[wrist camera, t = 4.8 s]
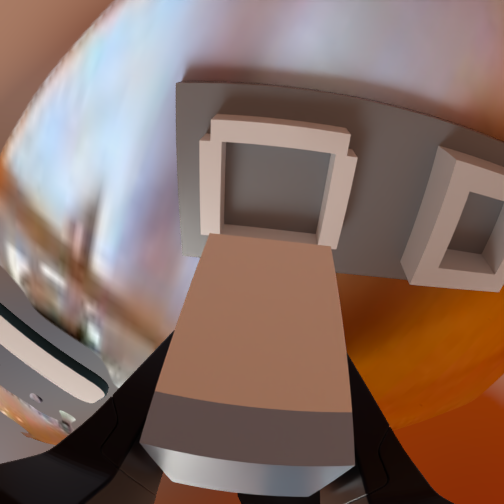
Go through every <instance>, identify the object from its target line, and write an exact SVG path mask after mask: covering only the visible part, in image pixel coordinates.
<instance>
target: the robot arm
mask: <svg viewBox="0 0 504 504" xmlns="http://www.w3.org/2000/svg"><path fill="white" fill-rule="evenodd" d="M174 331H175V330H174ZM174 331H173V332H172V333H171V334H170V335H169V336H168V337H167V338H166V339H165V340H164V341H163V342H162V344H161V345H160V346H159V347H158V348H157V349H156V350H155V351H154V352H153V353H152V354H151V355H150V356H149V357H148V358H147V359H146V360H145V361H144V362H143V364H142V365H141V366H140V367H139V368H138V369H137V370H136V371H135V372H134V373H133V374H132V375H131V376H130V377H129V378H128V379H127V380H126V381H125V382H124V384H123V385H122V386H121V387H120V388H119V389H118V390H117V391H116V392H115V393H114V394H113V397H110V398H109V399H108V400H107V401H106V402H105V404H104V405H103V406H101V408H99V409H98V411H96V412H95V413H94V414H93V415H92V416H91V417H90V418H89V419H88V420H87V421H85V422H84V423H83V424H82V425H81V426H79V427H78V428H77V429H76V430H75V431H73V432H72V433H71V434H70V435H68V436H67V437H66V438H65V439H63V440H62V441H61V442H60V443H58V444H57V445H56V446H55V447H53V448H52V449H50V450H48V451H46V452H44V453H41V454H38V455H34V456H31V457H27V458H23V459H19V460H15V461H11V462H6V463H2V464H0V504H154V501H155V498H156V494H157V491H158V487H159V484H160V480H161V477H162V474H163V470H162V469H161V468H160V467H159V466H158V465H157V463H156V462H155V461H154V460H153V459H152V458H151V456H150V455H149V454H148V453H147V451H146V450H145V449H144V448H143V446H142V445H141V444H140V443H139V442H140V439H141V435H142V432H143V428H144V425H145V422H146V418H147V415H148V412H149V408H150V405H151V402H152V399H153V395H154V392H155V389H156V386H157V383H158V379H159V376H160V373H161V370H162V367H163V364H164V361H165V358H166V355H167V352H168V349H169V346H170V343H171V340H172V337H173V334H174ZM346 353H347V352H346ZM347 362H348V371H349V382H350V392H351V404H352V418H353V433H354V452H355V466H354V467H352V468H351V469H350V470H348V471H347V472H345V473H344V474H342V475H341V476H340V477H338V478H337V479H335V480H334V481H332V482H331V483H329V484H328V485H326V486H325V487H323V488H322V489H320V490H318V491H317V492H315V493H314V494H312V495H310V496H309V497H293V496H270V495H256V494H245V493H238V497H239V500H240V501H241V504H454V503H452V502H450V501H448V500H447V499H445V498H443V497H442V496H440V495H439V494H438V493H436V491H434V489H433V488H432V487H431V486H430V485H429V483H428V482H427V481H426V479H425V478H424V477H423V475H422V474H421V472H420V471H419V470H418V468H417V467H416V466H415V464H414V463H413V462H412V461H411V459H410V457H409V456H408V455H407V453H406V452H405V450H404V449H403V447H402V446H401V444H400V443H399V441H398V439H397V437H396V436H395V434H394V432H393V430H392V429H391V427H389V424H388V422H387V420H386V418H385V417H384V415H383V413H382V411H381V410H380V408H379V406H378V405H377V403H376V401H375V399H374V398H373V396H372V394H371V393H370V391H369V389H368V387H367V386H366V384H365V382H364V381H363V379H362V377H361V376H360V374H359V372H358V371H357V369H356V367H355V366H354V364H353V362H352V361H351V359H350V357H349V356H348V354H347Z"/></svg>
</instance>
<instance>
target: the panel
mask: <svg viewBox="0 0 504 504" xmlns="http://www.w3.org/2000/svg"><path fill="white" fill-rule="evenodd" d="M176 147H177V176H178V196H179V213H180V228H181V242H182V254H183V256H190V257H199V258H200V257H201V255H202V252H203V249H204V247H205V244H206V241H207V239H208V236H209V234H210V233H214V234H224V235H233V236H243V237H252V238H261V239H270V240H279V241H288V242H297V243H306V244H315V245H324V246H331V250H332V256H333V262H334V267H335V273H345V274H354V275H364V276H374V277H384V278H394V279H404V280H408V282H409V284H410V285H419V286H430V287H442V288H453V289H465V290H477V291H490V292H499V291H500V289H501V288H502V286H503V284H504V142H503V141H500V140H498V139H496V138H493V137H491V136H488V135H486V134H483V133H481V132H478V131H475V130H473V129H470V128H467V127H464V126H461V125H459V124H456V123H453V122H450V121H447V120H444V119H441V118H437V117H434V116H431V115H428V114H424V113H421V112H417V111H414V110H410V109H406V108H402V107H398V106H394V105H390V104H386V103H382V102H378V101H373V100H368V99H364V98H359V97H354V96H348V95H343V94H337V93H331V92H325V91H319V90H312V89H304V88H297V87H288V86H279V85H268V84H255V83H239V82H212V81H181V82H178V83H176Z"/></svg>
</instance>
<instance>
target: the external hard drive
mask: <svg viewBox="0 0 504 504" xmlns="http://www.w3.org/2000/svg"><path fill="white" fill-rule="evenodd" d="M0 344H1V345H2V346H4V347H5V348H6V349H7V350H9V351H10V352H11V353H12V354H14V355H15V356H16V357H17V358H19V359H20V360H21V361H23V362H24V363H25V364H27V365H28V366H29V367H31V368H32V369H34V370H35V371H36V372H38V373H39V374H40V375H42V376H43V377H45V378H46V379H48V380H49V381H51V382H52V383H54V384H55V385H57V386H58V387H60V388H61V389H63V390H64V391H66V392H68V393H69V394H71V395H72V396H74V397H76V398H78V399H80V400H82V401H84V402H87V403H95V402H97V401H99V400H100V399H102V398H104V397H105V396H106V394H107V392H108V388H109V387H108V384H107V383H106V382H105V381H104V380H103V379H102V378H101V377H100V376H98V375H97V374H95V373H94V372H92V371H91V370H89V369H88V368H86V367H85V366H83V365H82V364H80V363H79V362H77V361H76V360H74V359H73V358H71V357H69V356H68V355H67V354H65V353H64V352H62V351H61V350H60V349H58V348H57V347H55V346H54V345H52V344H51V343H50V342H48V341H47V340H46V339H44V338H43V337H42V336H40V335H39V334H38V333H37V332H35V331H34V330H33V329H31V328H30V327H29V326H28V325H26V324H25V323H24V322H23V321H21V320H20V319H19V318H18V317H16V316H15V315H14V314H13V313H12V312H11V311H9V310H8V309H7V308H6V307H5V306H4V305H2V304H1V303H0Z"/></svg>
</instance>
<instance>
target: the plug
mask: <svg viewBox="0 0 504 504" xmlns="http://www.w3.org/2000/svg"><path fill="white" fill-rule="evenodd" d="M139 443H140V444H141V445H142V446H143V448H144V449H145V450H146V451H147V453H148V454H149V455H150V456H151V458H152V459H153V460H154V461H155V462H156V463H157V465H158V466H159V467H160V468H161V469H162V470H163V472H164V473H165V474H166V475H167V476H168V477H169V478H170V479H171V481H172V482H177V483H181V484H186V485H192V486H196V487H202V488H208V489H215V490H221V491H228V492H237V493H245V494H256V495H270V496H293V497H309V496H310V495H312V494H314V493H315V492H317V491H318V490H320V489H322V488H323V487H325V486H326V485H328V484H329V483H331V482H332V481H334V480H335V479H337V478H338V477H340V476H341V475H342V474H344V473H345V472H347V471H348V470H350V469H351V468H352V467H354V466H355V452H354V433H353V418H352V404H351V392H350V382H349V371H348V362H347V353H346V344H345V336H344V328H343V321H342V313H341V306H340V299H339V293H338V286H337V280H336V274H335V267H334V262H333V256H332V250H331V246H324V245H315V244H306V243H297V242H288V241H279V240H270V239H261V238H252V237H243V236H233V235H224V234H214V233H210V234H209V236H208V239H207V241H206V244H205V247H204V249H203V252H202V255H201V257H200V260H199V263H198V266H197V268H196V271H195V274H194V277H193V279H192V282H191V285H190V288H189V291H188V293H187V296H186V299H185V302H184V305H183V308H182V310H181V313H180V316H179V319H178V322H177V325H176V328H175V331H174V334H173V337H172V340H171V343H170V346H169V349H168V352H167V355H166V358H165V361H164V364H163V367H162V370H161V373H160V376H159V379H158V383H157V386H156V389H155V392H154V395H153V399H152V402H151V405H150V408H149V412H148V415H147V418H146V422H145V425H144V428H143V432H142V435H141V439H140V442H139Z"/></svg>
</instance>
